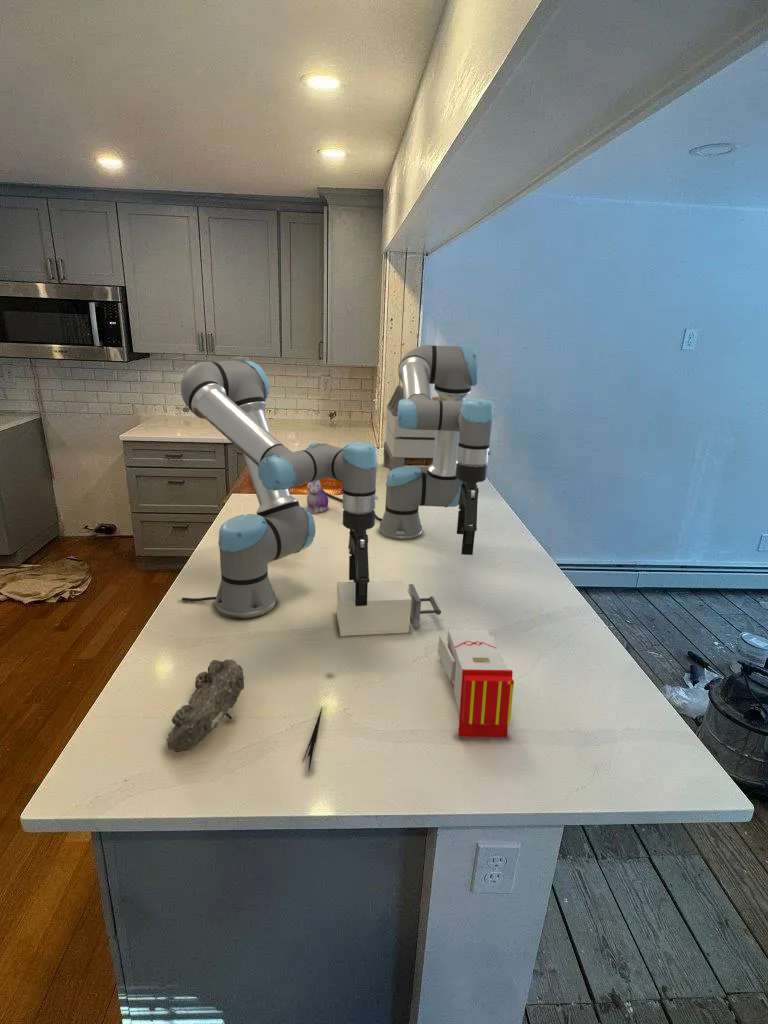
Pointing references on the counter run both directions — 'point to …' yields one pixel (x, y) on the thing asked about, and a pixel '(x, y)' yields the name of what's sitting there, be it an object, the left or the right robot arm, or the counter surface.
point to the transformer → (406, 439)
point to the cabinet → (374, 608)
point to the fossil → (206, 705)
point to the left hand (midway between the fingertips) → (357, 591)
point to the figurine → (316, 498)
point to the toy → (478, 682)
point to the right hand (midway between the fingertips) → (464, 543)
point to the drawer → (416, 606)
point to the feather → (313, 740)
